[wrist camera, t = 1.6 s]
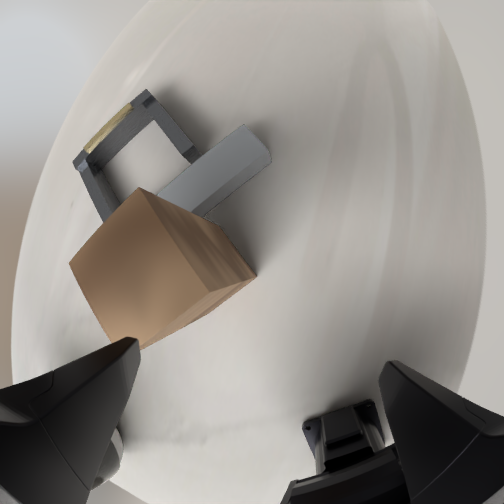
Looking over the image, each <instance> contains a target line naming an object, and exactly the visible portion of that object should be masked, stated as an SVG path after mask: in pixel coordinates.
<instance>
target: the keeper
mask: <svg viewBox="0 0 504 504" xmlns="http://www.w3.org/2000/svg"><path fill="white" fill-rule="evenodd" d="M152 120H155V121H156V122H157V124H158V125H159V126H160V128H161V129H162V130H163V131H164V133H165V134H166V135H167V137H168V138H169V139H170V141H171V142H172V143H173V144H174V146H175V147H176V148H177V150H178V151H179V152H180V153H181V155H182V156H183V157H184V158H186V159H187V160H188V161H189V162H190V163H191V164H193V163H194V162H195V161H197V160H198V159H199V158H200V157H202V156H203V155H202V154H201V153H200V151H199V150H198V149H197V148H196V147H195V145H194V144H193V143H192V142H191V140H190V139H189V138H188V137H187V136H186V134H185V133H184V132H183V131H182V130H181V128H180V127H179V126H178V125H177V124H176V122H175V121H174V120H173V119H172V118H171V116H170V115H169V114H168V113H167V112H166V110H165V109H164V108H163V107H162V106H161V104H160V103H159V102H158V101H157V100H156V99H155V98H154V97H153V95H152V94H151V93H150V92H149V91H148V90H147V89H145V90H144V91H143V92H142V93H141V94H139V95H138V96H137V97H136V98H135V99H134V100H133V101H131V102H130V103H128V104H127V105H125V106H124V107H123V108H122V109H121V110H120V111H119V112H118V113H117V114H116V115H115V116H114V117H113V118H112V119H111V120H110V121H108V122H107V123H106V124H105V125H104V126H103V127H102V128H101V129H100V131H99V132H98V133H97V134H96V135H95V136H94V137H93V138H92V139H91V140H90V141H89V142H88V143H87V144H86V145H85V146H84V149H83V150H82V151H81V152H80V153H79V155H78V156H77V157H76V158H75V159H74V160H73V164H74V167H75V169H76V170H78V171H79V172H80V175H81V177H82V179H83V182H84V184H85V186H86V188H87V190H88V192H89V195H90V197H91V199H92V201H93V203H94V205H95V207H96V209H97V211H98V213H99V215H100V217H101V219H102V221H103V223H104V222H105V221H106V220H107V219H108V218H109V217H110V216H111V215H112V213H113V212H114V211H115V210H116V209H117V208H118V207H119V206H120V203H119V201H118V199H117V197H116V196H115V194H114V192H113V190H112V188H111V186H110V185H109V183H108V181H107V179H106V177H105V175H104V173H103V171H102V168H103V167H104V166H105V165H106V164H107V163H108V162H109V161H110V160H111V159H112V158H113V157H114V156H115V155H116V154H117V153H118V152H119V151H120V150H121V149H122V148H123V147H124V146H125V145H126V144H127V143H128V142H129V141H130V140H131V139H132V138H133V137H134V136H135V135H137V134H138V133H139V132H140V131H141V130H142V129H143V128H144V127H145V126H147V125H148V124H149V123H150V122H151V121H152Z"/></svg>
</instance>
